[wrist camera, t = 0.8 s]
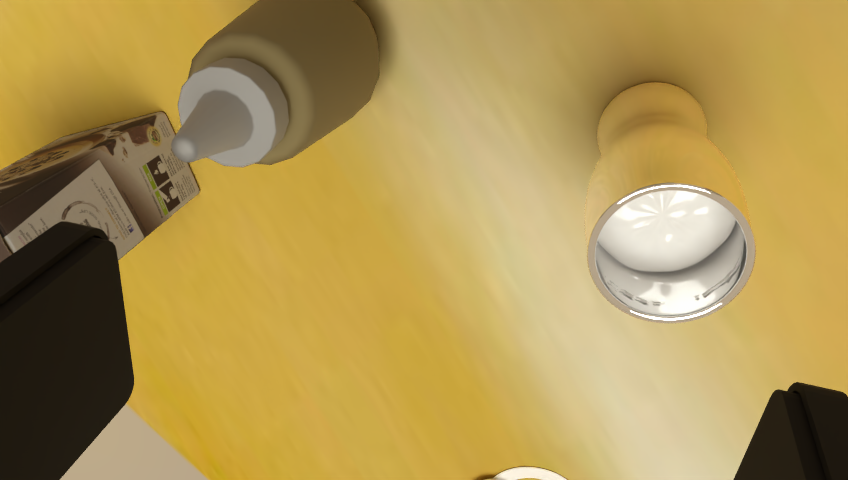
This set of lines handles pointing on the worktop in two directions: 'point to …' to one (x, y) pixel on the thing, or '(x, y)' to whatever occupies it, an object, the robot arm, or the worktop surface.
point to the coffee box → (97, 184)
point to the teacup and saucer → (527, 474)
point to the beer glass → (665, 210)
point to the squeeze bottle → (276, 82)
